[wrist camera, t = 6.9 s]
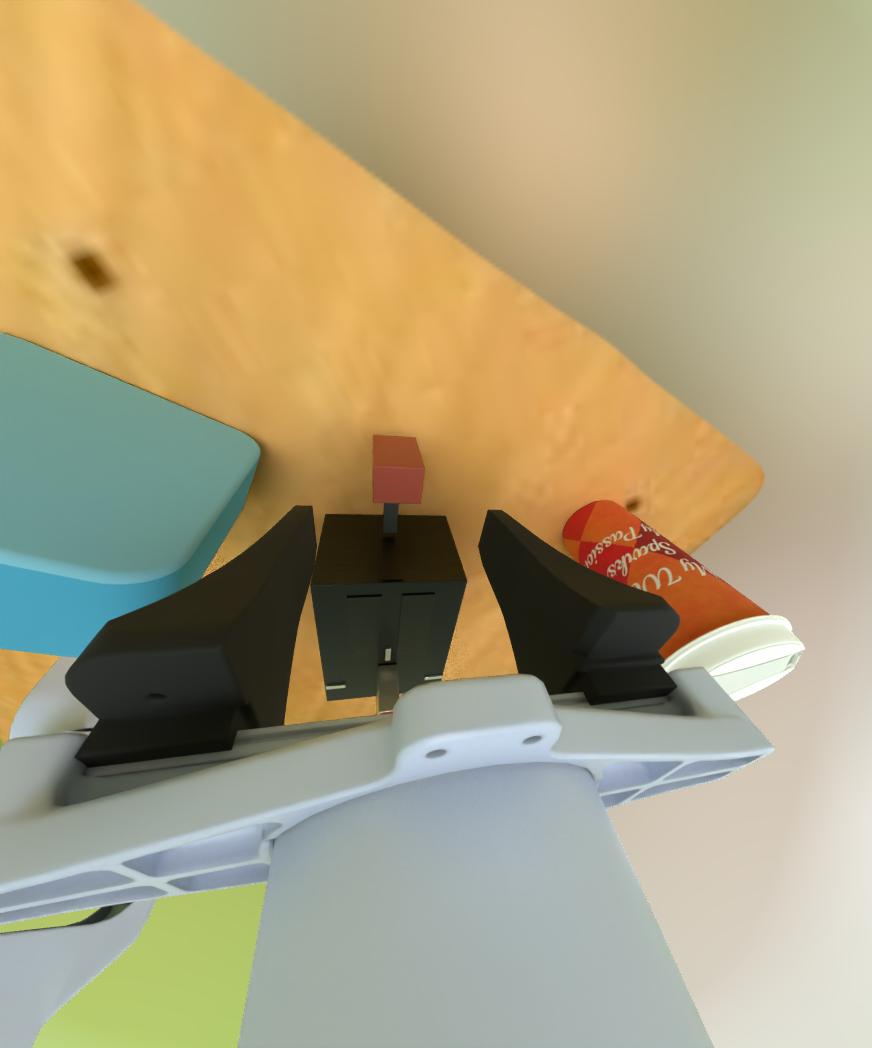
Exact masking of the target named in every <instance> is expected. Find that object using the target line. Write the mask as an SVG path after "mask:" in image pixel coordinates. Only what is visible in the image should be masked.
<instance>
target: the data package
mask: <svg viewBox="0 0 872 1048" xmlns="http://www.w3.org/2000/svg"><path fill="white" fill-rule="evenodd" d="M260 455H261V450H260V447H259V445H258V444H257V443H256V441H254V440H253V439H252V438H251V437H250V436H248V435H246V434H245V433H243V432H241V431H239V430H237V429H234V428H232V427H229V426H227V425H225V424H222V423H220V422H218V421H215V420H213V419H210V418H208V417H206V416H203V415H201V414H199V413H196V412H194V411H192V410H189V409H187V408H184V407H182V406H180V405H177V404H175V403H173V402H170V401H168V400H166V399H163V398H161V397H158V396H156V395H154V394H151V393H149V392H147V391H144V390H142V389H139V388H137V387H135V386H132V385H130V384H128V383H125V382H123V381H121V380H118V379H116V378H113V377H111V376H109V375H106V374H104V373H102V372H99V371H97V370H95V369H92V368H90V367H87V366H85V365H83V364H80V363H78V362H76V361H73V360H71V359H68V358H66V357H64V356H61V355H59V354H57V353H54V352H52V351H50V350H47V349H45V348H42V347H40V346H38V345H35V344H33V343H31V342H28V341H26V340H23V339H20V338H17V337H14V336H11V335H8V334H4V333H0V649H7V650H16V651H24V652H32V653H41V654H49V655H57V656H66V657H74V658H78V657H79V655H80V654H81V653H82V652H83V650H84V649H85V648H86V647H87V645H88V644H89V643H90V642H91V641H92V639H93V638H94V637H95V636H96V634H97V633H98V632H99V631H100V630H101V628H102V627H103V626H104V625H105V624H106V623H107V622H108V621H109V620H112V619H114V618H117V617H119V616H122V615H124V614H127V613H129V612H132V611H134V610H137V609H139V608H142V607H144V606H146V605H149V604H151V603H154V602H156V601H158V600H160V599H162V598H165V597H167V596H169V595H171V594H173V593H175V592H177V591H179V590H181V589H183V588H185V587H187V586H189V585H191V584H193V583H195V582H197V581H198V580H200V579H201V578H202V576H203V574H204V573H205V571H206V569H207V568H208V566H209V564H210V563H211V561H212V559H213V558H214V556H215V554H216V553H217V551H218V549H219V548H220V546H221V544H222V543H223V541H224V539H225V538H226V536H227V534H228V533H229V531H230V529H231V528H232V526H233V524H234V523H235V521H236V519H237V518H238V516H239V514H240V513H241V511H242V509H243V507H244V504H245V501H246V498H247V495H248V492H249V489H250V486H251V483H252V480H253V476H254V473H255V470H256V467H257V464H258V461H259V458H260Z"/></svg>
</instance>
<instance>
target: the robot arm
mask: <svg viewBox="0 0 872 1048" xmlns="http://www.w3.org/2000/svg"><path fill="white" fill-rule="evenodd" d="M478 548H479V552H480V556H481V560H482V564H483V567H484V569H485V572H486V574H487V577H488V579H489V582H490V584H491V586H492V589H493V591H494V594H495V596H496V598H497V601H498V603H499V606H500V608H501V611H502V614H503V616H504V620H505V623H506V627H507V630H508V633H509V637H510V641H511V645H512V648H513V652H514V656H515V660H516V665H517V669H518V673H519V674H508V675H498V676H487V677H477V678H466V679H456V680H445V681H435V682H431V683H427V684H422V685H418V686H416V687H414V688H412V689H410V690H409V691H407V692H405V693H403V694H402V695H401V697H400V698H399V700H398V701H397V703H396V704H395V706H394V708H393V713H390V714H381V715H372V716H363V717H354V718H346V719H337V720H328V721H319V722H310V723H302V724H293V725H284V719H285V711H286V703H287V696H288V688H289V681H290V674H291V667H292V661H293V654H294V648H295V642H296V636H297V630H298V625H299V621H300V616H301V613H302V609H303V606H304V602H305V599H306V595H307V592H308V588H309V585H310V581H311V578H312V574H313V570H314V565H315V558H316V550H317V542H316V534H315V525H314V516H313V507H312V506H297V505H296V506H294V507H293V508H292V509H291V510H290V511H289V512H288V513H287V514H286V515H285V516H284V517H283V518H282V519H281V520H280V521H279V522H278V523H277V524H276V525H275V526H274V527H272V528H271V529H270V530H269V531H268V532H267V533H266V534H265V535H264V536H263V537H261V538H260V539H259V540H258V541H257V542H255V543H254V544H253V545H252V546H251V547H249V548H248V549H247V550H246V551H244V552H243V553H242V554H240V555H239V556H237V557H236V558H234V559H233V560H231V561H230V562H228V563H227V564H225V565H224V566H222V567H221V568H219V569H218V570H216V571H214V572H212V573H211V574H209V575H207V576H205V577H204V578H202V579H200V580H198V581H197V582H195V583H193V584H191V585H189V586H187V587H185V588H183V589H181V590H179V591H177V592H175V593H173V594H171V595H169V596H167V597H165V598H162V599H160V600H158V601H156V602H154V603H151V604H149V605H146V606H144V607H142V608H139V609H137V610H134V611H132V612H129V613H127V614H124V615H122V616H119V617H117V618H114V619H112V620H109V621H108V622H107V623H106V624H105V625H104V626H103V627H102V628H101V630H100V631H99V632H98V633H97V634H96V636H95V637H94V638H93V639H92V641H91V642H90V643H89V644H88V645H87V647H86V648H85V649H84V650H83V652H82V653H81V654H80V655H79V657H78V658H74V657H66V656H61V657H60V658H59V659H58V660H57V661H56V662H55V664H54V665H53V666H52V667H51V668H50V669H49V671H48V672H47V673H46V674H45V675H44V676H43V677H42V679H41V680H40V681H39V682H38V683H37V684H36V686H35V687H34V688H33V689H32V690H31V691H30V693H29V694H28V695H27V697H26V698H25V699H24V701H23V702H22V704H21V706H20V707H19V709H18V711H17V713H16V715H15V718H14V720H13V723H12V726H11V729H10V733H9V740H8V741H6V743H5V744H4V745H3V746H2V747H1V749H0V925H2V924H7V923H12V922H18V921H23V920H28V919H34V918H39V917H44V916H50V915H56V914H62V913H67V912H72V911H78V910H85V909H90V908H97V907H101V908H100V909H99V910H97V911H96V912H94V913H93V914H92V915H90V916H89V917H88V918H86V919H84V920H82V921H80V922H76V923H74V924H70V925H67V926H61V927H50V928H42V929H32V930H24V931H14V932H4V933H0V1048H32V1046H33V1044H34V1042H35V1039H36V1037H37V1035H38V1033H39V1031H40V1029H41V1028H42V1027H43V1025H44V1024H45V1023H46V1022H47V1021H48V1020H49V1019H50V1018H51V1017H52V1016H53V1015H54V1014H55V1013H56V1012H57V1011H58V1010H59V1009H60V1008H62V1007H63V1006H64V1005H65V1004H66V1003H67V1002H68V1001H69V1000H70V999H72V998H73V997H74V996H75V995H76V994H77V993H78V992H80V991H81V990H82V989H83V988H84V987H85V986H86V985H87V984H89V983H90V982H91V981H92V980H93V979H94V978H95V977H96V976H98V975H99V974H100V973H101V972H102V971H103V970H105V969H106V968H107V967H108V966H109V965H110V964H111V963H112V962H114V961H115V960H116V959H117V958H118V957H119V956H120V955H121V954H122V953H123V952H125V950H127V949H128V948H129V947H130V946H131V945H132V944H133V943H134V942H135V941H136V939H137V938H138V937H139V935H140V933H141V930H142V928H143V926H144V925H145V923H146V922H147V920H148V918H149V916H150V913H151V911H152V909H153V906H154V904H155V902H156V899H157V898H163V897H170V896H177V895H183V894H190V893H196V892H204V891H211V890H217V889H224V888H231V887H237V886H245V885H251V884H258V883H265V882H267V886H266V891H265V897H264V903H263V908H262V914H261V920H260V925H259V931H258V936H257V942H256V948H255V953H254V959H253V964H252V970H251V975H250V981H249V987H248V992H247V998H246V1003H245V1009H244V1014H243V1020H242V1026H241V1031H240V1037H239V1042H238V1048H714V1046H713V1044H712V1042H711V1040H710V1038H709V1035H708V1033H707V1031H706V1029H705V1027H704V1024H703V1022H702V1020H701V1018H700V1016H699V1013H698V1011H697V1009H696V1007H695V1005H694V1002H693V1000H692V998H691V996H690V993H689V991H688V989H687V987H686V985H685V982H684V980H683V978H682V976H681V974H680V971H679V969H678V967H677V965H676V962H675V960H674V958H673V956H672V954H671V951H670V949H669V947H668V945H667V943H666V940H665V938H664V936H663V934H662V932H661V929H660V927H659V925H658V923H657V921H656V918H655V916H654V914H653V912H652V909H651V907H650V905H649V903H648V901H647V898H646V896H645V894H644V892H643V890H642V887H641V885H640V883H639V881H638V879H637V876H636V874H635V872H634V870H633V867H632V865H631V863H630V861H629V859H628V857H627V854H626V852H625V850H624V848H623V845H622V843H621V841H620V839H619V837H618V834H617V832H616V830H615V828H614V825H613V823H612V821H611V819H610V817H609V815H608V812H607V810H606V809H608V808H611V807H614V806H619V805H622V804H626V803H630V802H633V801H637V800H640V799H644V798H647V797H651V796H655V795H659V794H663V793H667V792H670V791H674V790H678V789H683V788H687V787H691V786H695V785H700V784H705V783H709V782H714V781H718V780H720V779H722V778H724V777H726V776H728V775H730V774H732V773H734V772H736V771H737V770H739V769H741V768H743V767H745V766H747V765H749V764H751V763H753V762H754V761H757V760H759V759H760V758H762V757H764V756H766V755H768V754H770V753H772V752H774V750H775V748H774V746H773V745H772V744H771V743H770V742H769V740H768V739H767V738H766V737H765V736H764V735H763V734H762V733H761V731H759V729H758V728H757V727H756V726H755V725H754V723H753V722H752V721H751V720H750V719H749V718H748V717H747V716H746V715H745V713H744V712H743V711H742V710H741V709H740V708H739V707H738V706H737V704H736V703H735V702H734V701H733V700H732V699H731V698H730V696H729V695H728V694H727V693H726V692H725V691H724V690H723V688H722V687H721V686H720V685H719V684H718V683H717V682H716V681H715V679H714V678H713V677H712V676H711V675H710V674H709V673H708V672H707V670H706V669H705V668H704V667H692V668H683V669H676V670H673V671H670V672H668V673H667V672H666V671H665V670H664V668H663V667H662V666H661V664H663V663H664V662H665V660H664V658H663V657H662V655H661V654H660V653H659V652H658V651H659V650H660V649H661V648H662V647H663V646H664V644H665V643H666V642H667V641H668V640H669V639H670V638H671V637H672V636H673V635H674V633H675V632H676V631H677V629H678V627H679V624H680V616H679V615H678V613H677V612H676V611H675V610H674V609H673V608H672V607H671V606H670V605H669V604H668V603H667V602H666V600H665V599H664V598H663V597H661V596H659V595H656V594H653V593H650V592H647V591H644V590H641V589H638V588H635V587H632V586H629V585H626V584H624V583H621V582H619V581H616V580H614V579H611V578H609V577H607V576H604V575H602V574H600V573H598V572H596V571H594V570H592V569H589V568H587V567H585V566H583V565H581V564H580V563H578V562H576V561H574V560H572V559H571V558H569V557H567V556H565V555H564V554H562V553H560V552H559V551H557V550H556V549H554V548H553V547H551V546H550V545H548V544H547V543H545V542H544V541H542V540H541V539H540V538H538V537H537V536H535V535H534V534H533V533H531V532H530V531H529V530H527V529H526V528H525V527H524V526H522V525H521V524H520V523H518V522H517V521H516V520H515V519H513V518H512V517H511V516H509V515H508V514H506V513H505V512H504V511H502V510H488V511H487V515H486V519H485V523H484V526H483V530H482V534H481V537H480V541H479V545H478Z"/></svg>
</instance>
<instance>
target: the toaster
mask: <svg viewBox="0 0 872 1048" xmlns="http://www.w3.org/2000/svg"><path fill="white" fill-rule="evenodd" d="M383 517H384V515H341V514H326V515H325V518H324V523H323V527H322V532H321V537H320V542H319V546H318V551H317V556H316V561H315V565H314V570H313V575H312V580H311V584H310V587H311V594H312V601H313V608H314V615H315V622H316V629H317V636H318V642H319V649H320V656H321V663H322V670H323V677H324V684H325V691H326V697H327V701H333V700H343V699H352V698H362V697H372V696H376V689H377V671H378V666H382V665H394V664H397V669H398V684H399V694H400V693H405V692H407V691H409V690H410V689H412V688H414V687H416V686H418V685H422V684H427V683H431V682H435V681H441V679H442V675H443V672H444V668H445V664H446V660H447V656H448V652H449V649H450V645H451V641H452V637H453V633H454V630H455V626H456V622H457V618H458V614H459V611H460V607H461V603H462V599H463V595H464V591H465V588H466V584H467V578H466V575H465V572H464V569H463V566H462V563H461V560H460V557H459V554H458V551H457V548H456V545H455V542H454V539H453V536H452V533H451V530H450V527H449V524H448V521H447V518H446V516H410V515H398V519H397V528H398V537H399V546H400V555H401V564H402V573H403V580H391V581H382V559H381V532H380V526H383ZM431 593H435V598H434V604H433V609H432V614H431V620H430V625H429V630H428V636H427V641H426V647H425V652H424V655H413V656H401V657H396V653H397V643H398V633H399V623H400V612H401V602H402V595H405V594H431ZM379 595H382V605H381V629H380V652H379V658H375V659H363V660H350V654H349V635H348V616H347V597H353V596H379Z"/></svg>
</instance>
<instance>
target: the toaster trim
mask: <svg viewBox="0 0 872 1048" xmlns="http://www.w3.org/2000/svg"><path fill="white" fill-rule="evenodd" d="M380 532H381V559H382V581H391V580H403V573H402V564H401V555H400V546H399V537H398V528H397V532H396V533H383V526H380ZM434 598H435V593H431V594H405V595H402V602H401V612H400V623H399V633H398V643H397V653H396V657H401V656H413V655H424V652H425V647H426V641H427V636H428V630H429V625H430V620H431V614H432V609H433V604H434ZM381 605H382V595H379V596H353V597H347V616H348V635H349V654H350V660H363V659H375V658H379V652H380V629H381Z"/></svg>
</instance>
